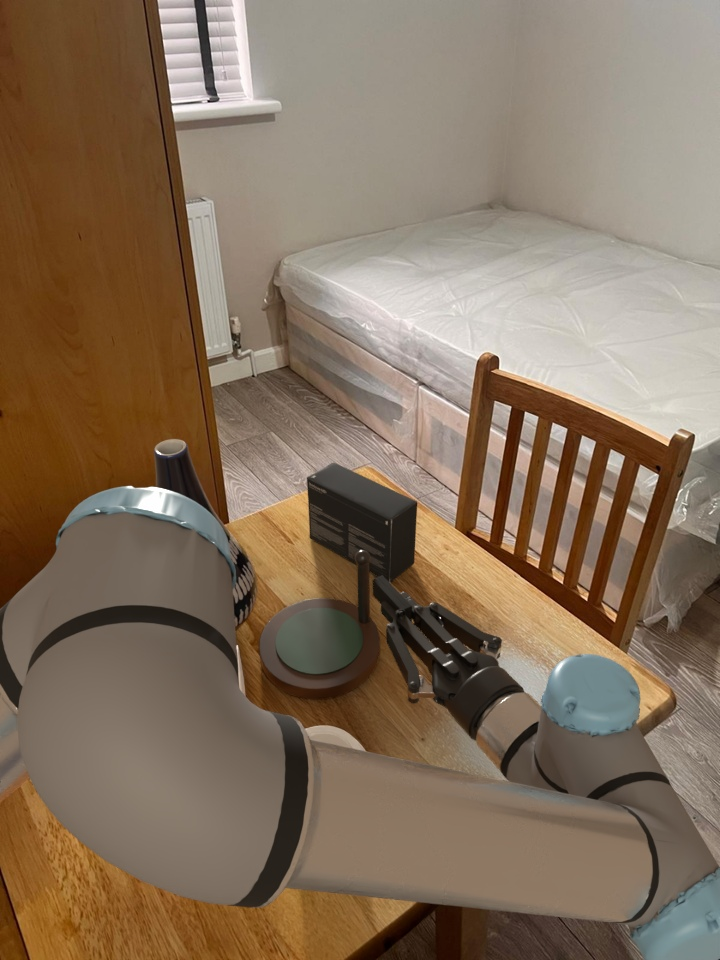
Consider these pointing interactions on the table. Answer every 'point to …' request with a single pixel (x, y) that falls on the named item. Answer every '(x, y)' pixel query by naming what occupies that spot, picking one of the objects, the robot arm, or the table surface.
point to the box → (362, 519)
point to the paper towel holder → (322, 643)
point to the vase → (183, 479)
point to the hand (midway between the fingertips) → (377, 585)
